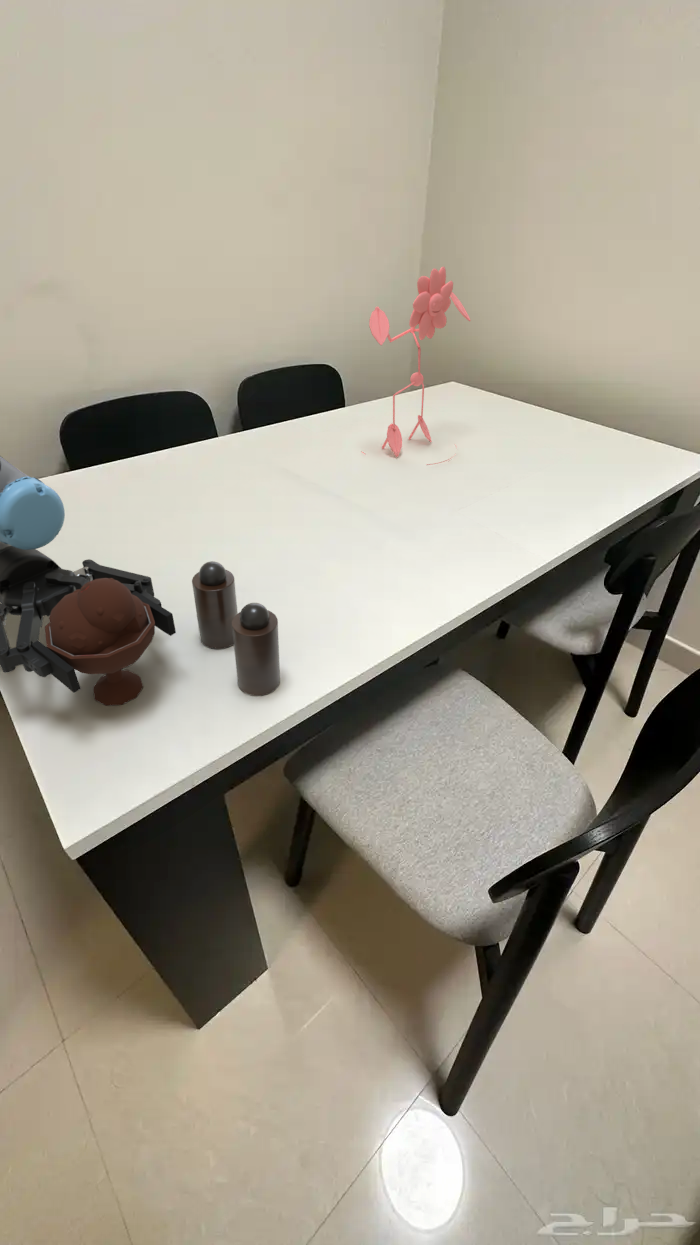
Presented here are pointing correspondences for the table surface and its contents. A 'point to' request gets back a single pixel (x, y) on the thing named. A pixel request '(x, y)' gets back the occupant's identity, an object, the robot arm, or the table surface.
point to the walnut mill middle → (215, 604)
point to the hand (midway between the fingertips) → (125, 651)
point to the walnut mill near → (256, 649)
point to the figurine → (428, 316)
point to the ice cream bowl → (102, 636)
